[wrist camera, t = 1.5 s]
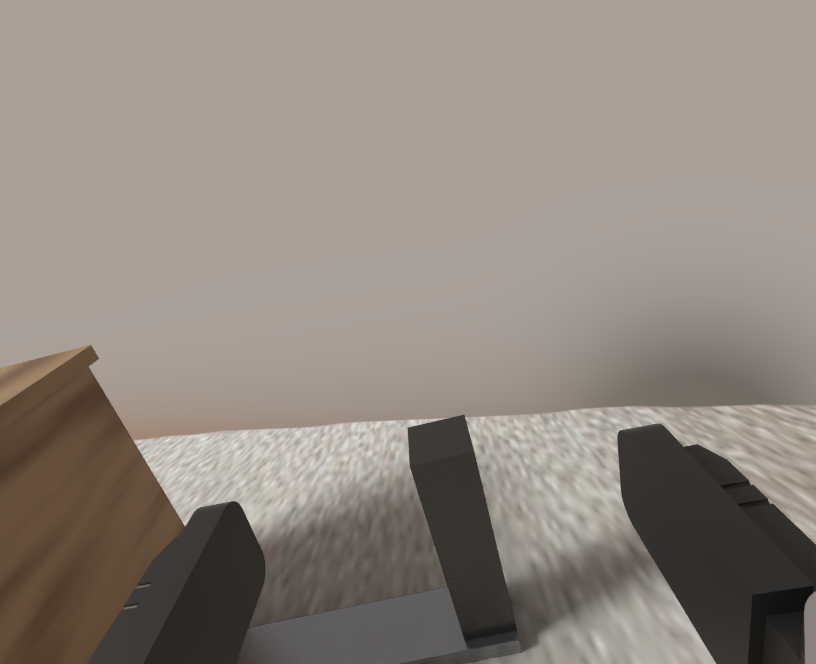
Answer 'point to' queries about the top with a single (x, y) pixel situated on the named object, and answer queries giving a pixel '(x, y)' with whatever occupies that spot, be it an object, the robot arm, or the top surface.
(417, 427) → the grey l-shaped bracket
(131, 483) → the walnut cabinet
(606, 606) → the top surface
